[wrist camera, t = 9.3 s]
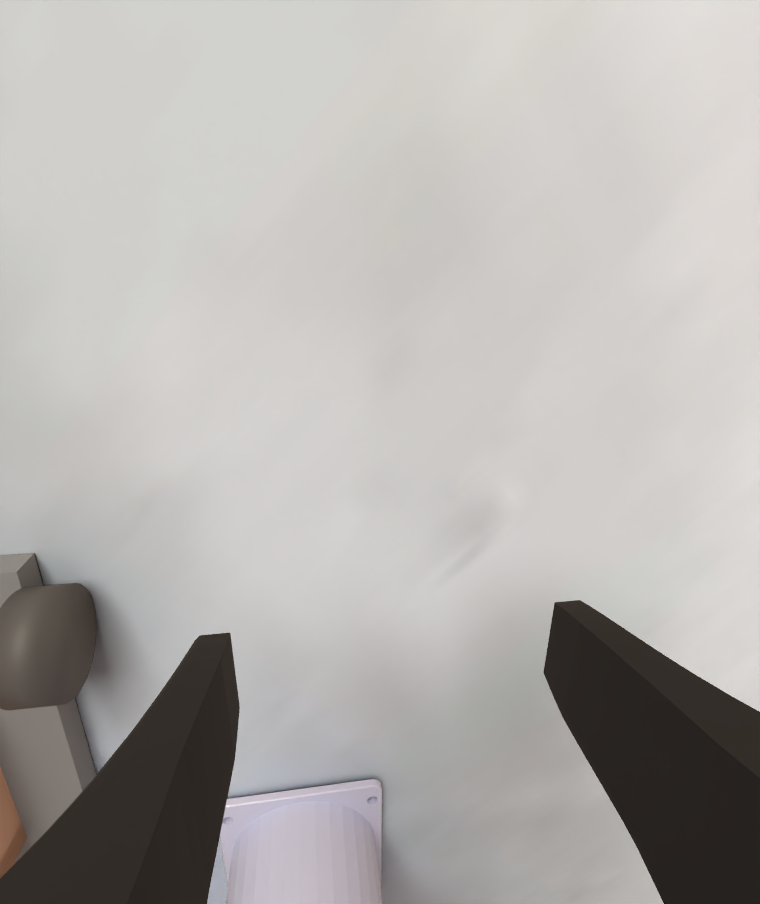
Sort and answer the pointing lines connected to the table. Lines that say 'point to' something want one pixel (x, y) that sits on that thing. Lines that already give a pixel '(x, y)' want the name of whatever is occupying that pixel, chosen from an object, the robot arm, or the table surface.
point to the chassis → (40, 702)
